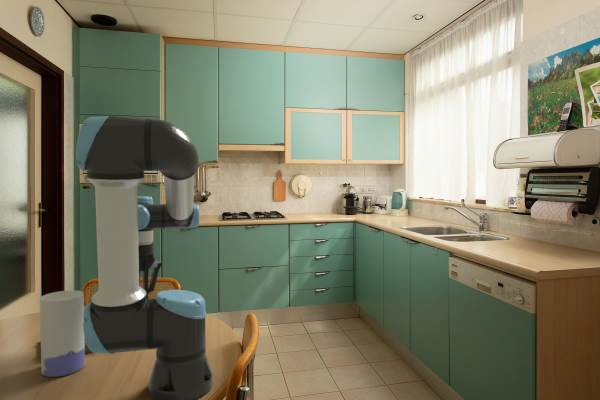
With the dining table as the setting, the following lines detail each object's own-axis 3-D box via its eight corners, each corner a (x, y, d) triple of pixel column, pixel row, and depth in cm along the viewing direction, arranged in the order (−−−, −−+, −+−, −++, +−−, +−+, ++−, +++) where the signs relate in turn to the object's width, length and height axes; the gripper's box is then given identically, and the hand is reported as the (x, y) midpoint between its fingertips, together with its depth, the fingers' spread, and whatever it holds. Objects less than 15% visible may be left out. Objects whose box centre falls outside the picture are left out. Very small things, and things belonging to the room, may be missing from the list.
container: (75, 357, 114) (74, 287, 113) (91, 367, 108) (90, 294, 107) (35, 369, 106) (34, 295, 106) (49, 381, 100) (48, 303, 99)
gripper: (158, 240, 138) (159, 307, 139) (118, 243, 131) (118, 313, 133) (164, 243, 132) (164, 313, 133) (121, 246, 125) (122, 320, 126)
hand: (141, 313), depth 133 cm, fingers closed
